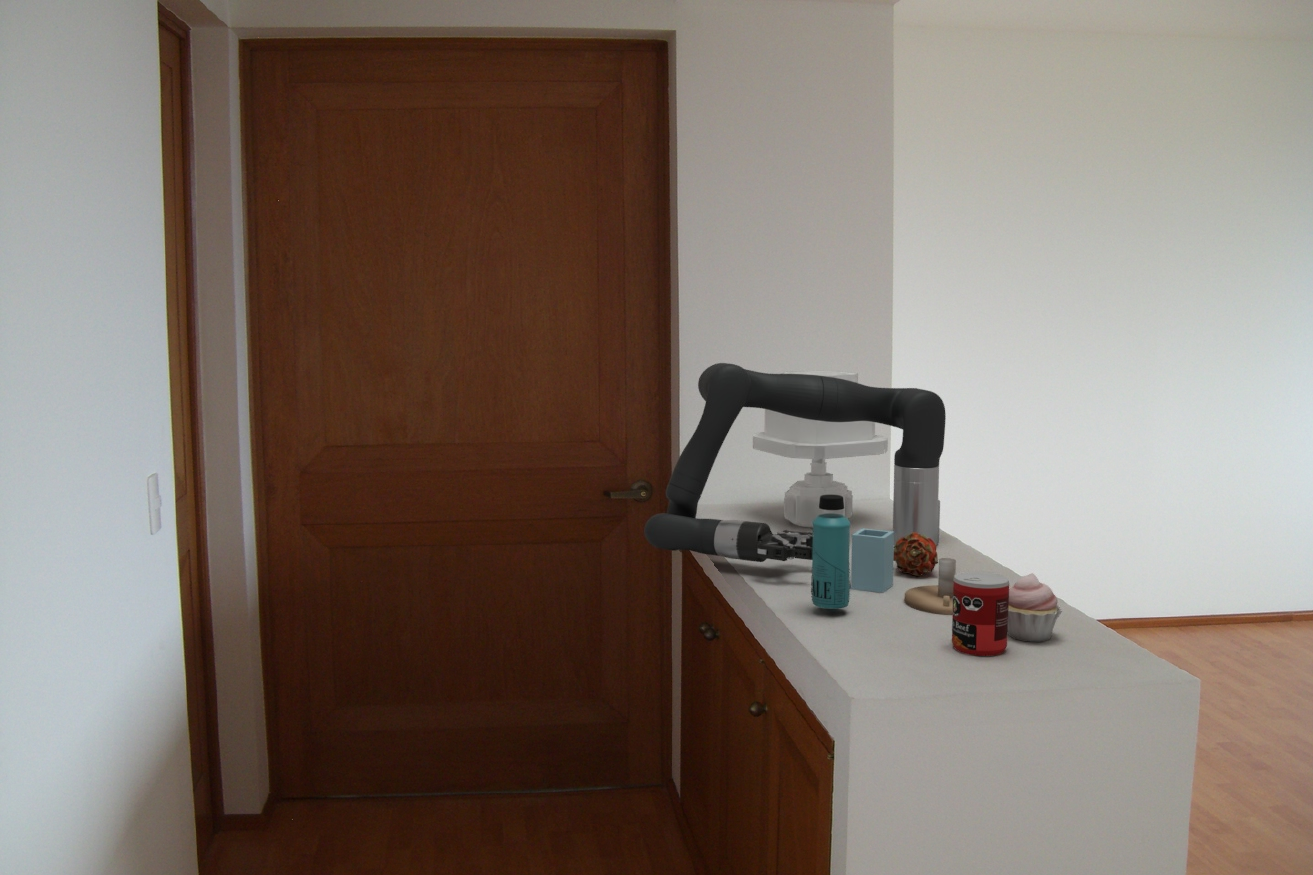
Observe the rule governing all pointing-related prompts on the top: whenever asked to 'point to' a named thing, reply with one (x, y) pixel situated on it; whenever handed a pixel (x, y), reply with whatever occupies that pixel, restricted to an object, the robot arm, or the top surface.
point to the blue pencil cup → (872, 560)
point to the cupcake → (1032, 610)
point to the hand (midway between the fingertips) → (822, 549)
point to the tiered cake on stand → (817, 454)
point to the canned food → (980, 613)
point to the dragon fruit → (915, 554)
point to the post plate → (935, 591)
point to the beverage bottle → (830, 556)
